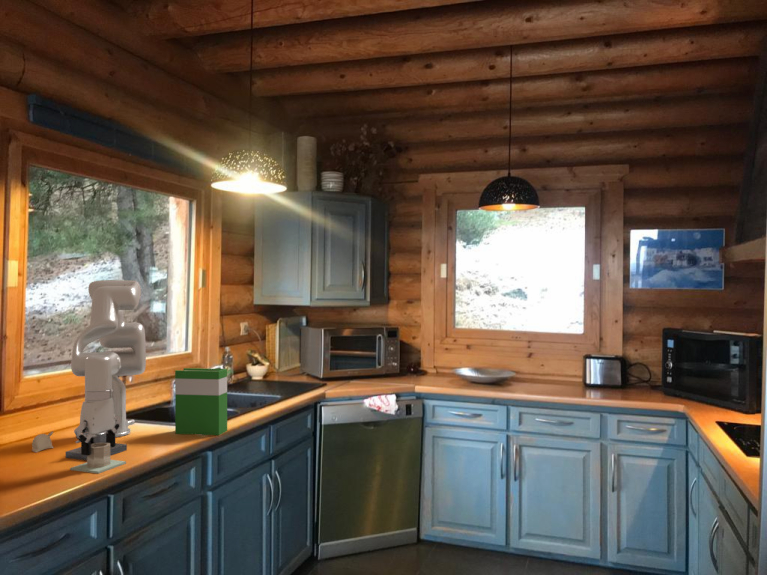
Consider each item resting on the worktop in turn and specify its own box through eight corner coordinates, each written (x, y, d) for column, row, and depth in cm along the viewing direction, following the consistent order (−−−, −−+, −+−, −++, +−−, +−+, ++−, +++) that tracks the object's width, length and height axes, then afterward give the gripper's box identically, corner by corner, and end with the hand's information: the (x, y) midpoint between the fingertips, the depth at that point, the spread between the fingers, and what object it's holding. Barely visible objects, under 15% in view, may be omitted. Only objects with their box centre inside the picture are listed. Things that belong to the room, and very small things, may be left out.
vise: (98, 447, 208) (98, 412, 208) (126, 450, 203) (126, 414, 204) (64, 457, 195) (64, 420, 195) (93, 461, 190) (93, 423, 190)
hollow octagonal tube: (99, 460, 189) (99, 441, 189) (115, 462, 187) (115, 443, 187) (82, 466, 183) (82, 446, 183) (98, 468, 181) (98, 448, 181)
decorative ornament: (27, 451, 203) (27, 435, 203) (50, 445, 210) (50, 430, 210) (35, 453, 201) (35, 437, 201) (58, 447, 208) (58, 431, 208)
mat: (98, 460, 192) (98, 458, 192) (125, 463, 188) (125, 461, 188) (70, 469, 181) (70, 467, 181) (98, 473, 177) (98, 471, 177)
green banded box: (175, 433, 227) (175, 370, 227) (184, 429, 234) (184, 368, 234) (218, 435, 224) (218, 371, 224) (227, 430, 231) (227, 368, 231)
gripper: (110, 389, 194) (110, 442, 194) (65, 400, 178) (66, 457, 178) (128, 391, 192) (129, 444, 192) (85, 401, 175) (85, 459, 176)
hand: (98, 450), depth 185 cm, fingers open, 9 cm apart
